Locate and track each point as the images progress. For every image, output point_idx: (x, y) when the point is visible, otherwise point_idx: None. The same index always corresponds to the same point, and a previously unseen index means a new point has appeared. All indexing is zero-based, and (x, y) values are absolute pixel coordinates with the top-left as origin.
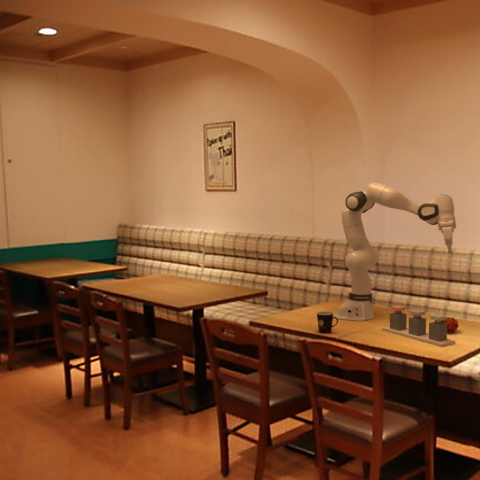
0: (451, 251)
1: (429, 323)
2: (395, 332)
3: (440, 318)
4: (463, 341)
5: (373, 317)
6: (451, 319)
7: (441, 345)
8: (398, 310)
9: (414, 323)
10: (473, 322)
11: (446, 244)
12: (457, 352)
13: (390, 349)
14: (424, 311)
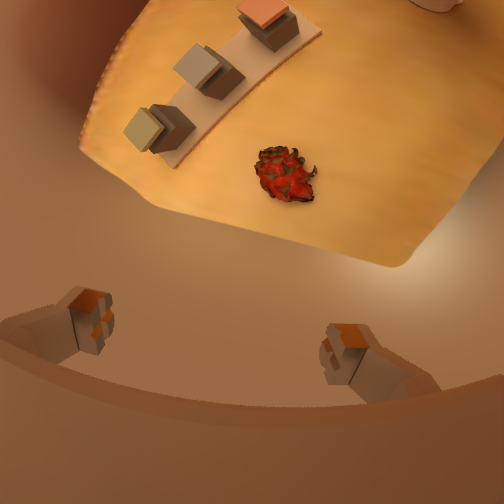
0: (323, 364)
1: (152, 105)
2: (243, 28)
3: (128, 135)
4: (197, 190)
5: (418, 4)
6: (274, 181)
7: None
8: (238, 10)
9: None
10: (394, 264)
11: (397, 404)
12: (119, 165)
13: (123, 40)
14: (193, 86)
